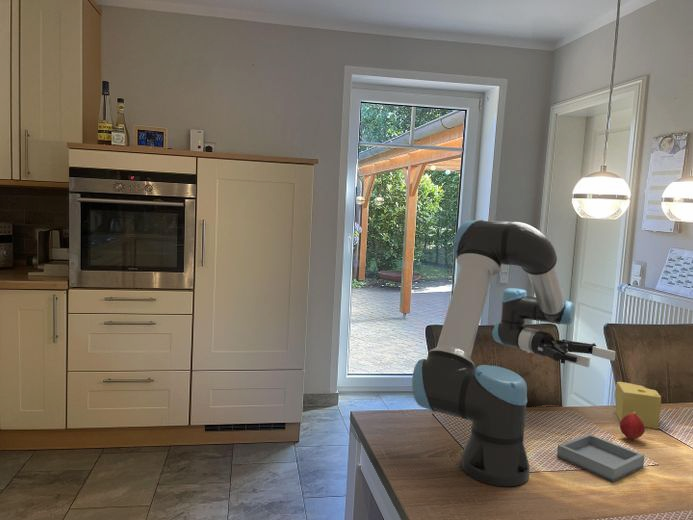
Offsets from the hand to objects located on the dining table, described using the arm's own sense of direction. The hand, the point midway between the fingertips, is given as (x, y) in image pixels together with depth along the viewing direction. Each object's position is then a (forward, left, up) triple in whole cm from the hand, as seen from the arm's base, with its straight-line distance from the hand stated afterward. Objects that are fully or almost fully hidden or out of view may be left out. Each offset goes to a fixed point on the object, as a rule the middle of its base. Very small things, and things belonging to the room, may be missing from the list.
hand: (602, 359), depth 144 cm
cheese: (+14, +7, -20) cm, 26 cm away
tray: (-8, -23, -20) cm, 31 cm away
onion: (+6, -8, -20) cm, 22 cm away
